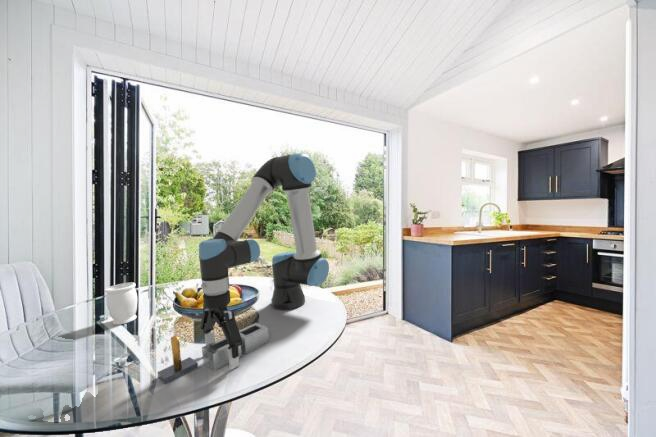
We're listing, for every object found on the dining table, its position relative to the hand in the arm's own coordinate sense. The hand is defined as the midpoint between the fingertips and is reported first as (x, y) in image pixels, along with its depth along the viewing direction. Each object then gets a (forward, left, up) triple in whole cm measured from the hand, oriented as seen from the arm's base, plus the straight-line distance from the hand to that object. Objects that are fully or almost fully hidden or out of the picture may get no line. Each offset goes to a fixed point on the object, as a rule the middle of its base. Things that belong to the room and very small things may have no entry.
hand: (222, 359), depth 88 cm
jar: (+9, -63, 0) cm, 64 cm away
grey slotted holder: (-11, 0, 0) cm, 11 cm away
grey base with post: (+11, -5, 0) cm, 12 cm away
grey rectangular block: (0, 0, 0) cm, 0 cm away
